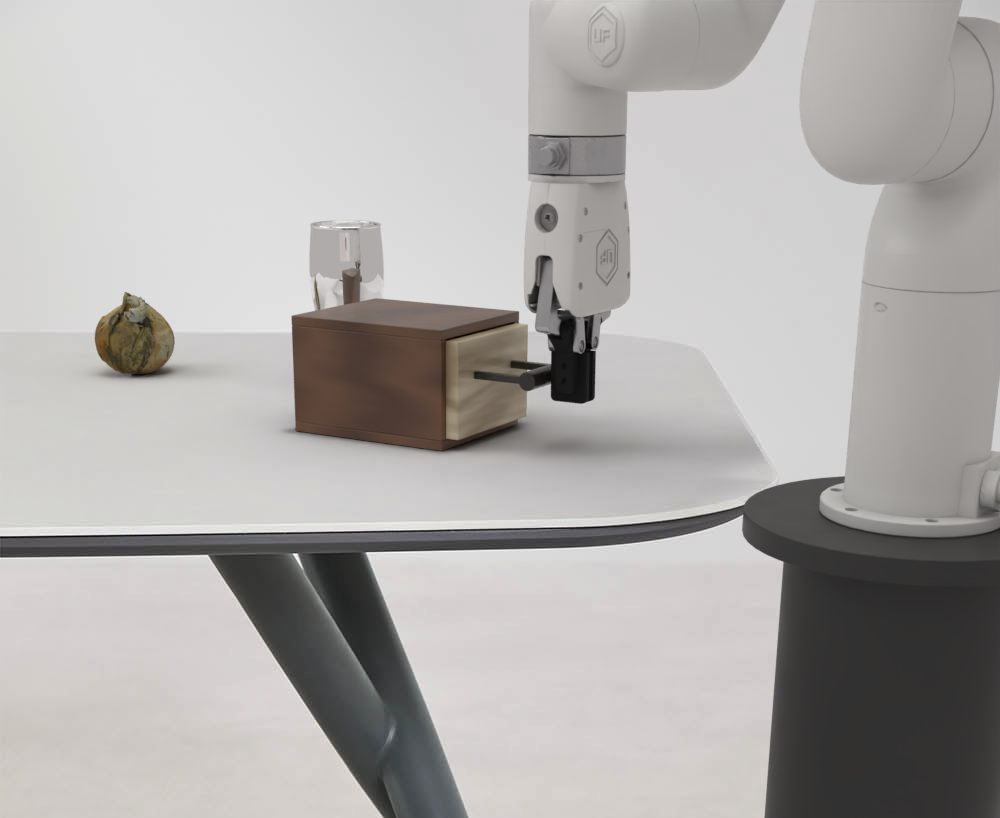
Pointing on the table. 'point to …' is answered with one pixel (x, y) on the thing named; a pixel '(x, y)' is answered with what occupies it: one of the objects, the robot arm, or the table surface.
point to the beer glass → (345, 262)
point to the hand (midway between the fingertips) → (572, 400)
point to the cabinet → (381, 369)
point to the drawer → (489, 379)
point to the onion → (134, 337)
